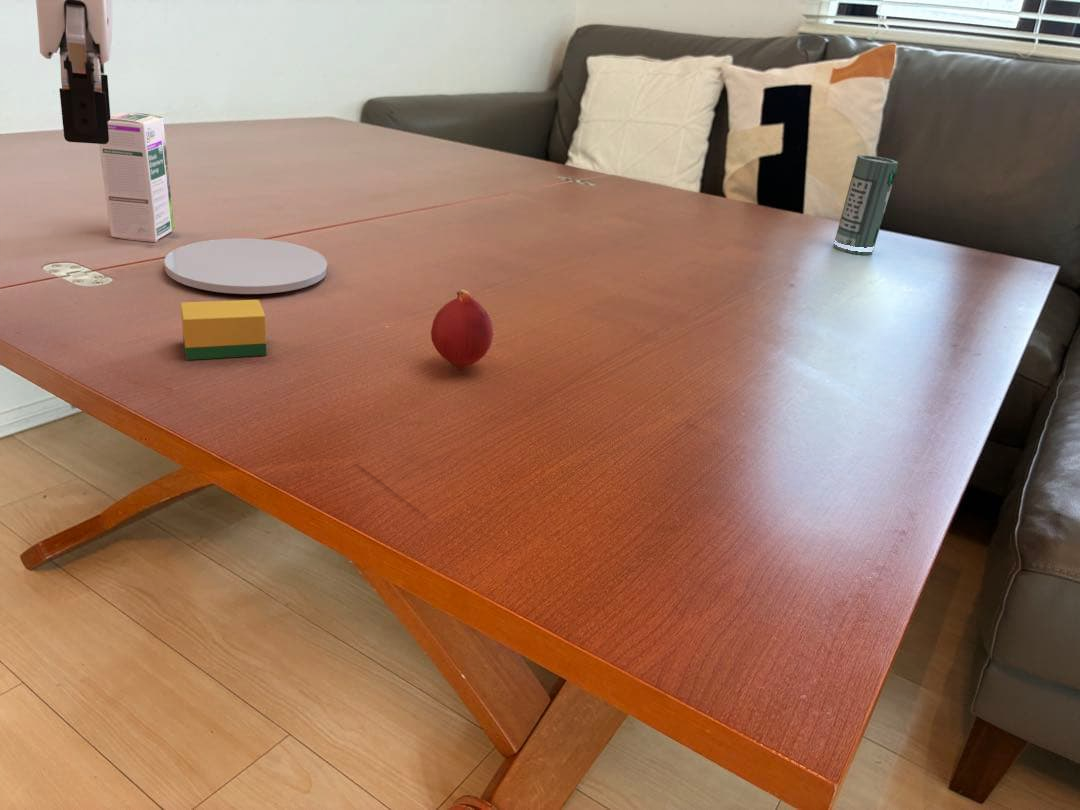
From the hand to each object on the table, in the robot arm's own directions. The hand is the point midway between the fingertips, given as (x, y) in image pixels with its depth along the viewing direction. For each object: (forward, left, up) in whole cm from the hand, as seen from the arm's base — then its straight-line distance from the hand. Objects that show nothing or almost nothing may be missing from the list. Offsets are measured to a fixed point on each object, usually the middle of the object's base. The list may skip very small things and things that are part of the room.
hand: (89, 130), depth 73 cm
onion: (+30, -14, -19) cm, 38 cm away
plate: (+14, +16, -19) cm, 29 cm away
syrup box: (+3, +32, -19) cm, 38 cm away
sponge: (+10, -6, -19) cm, 22 cm away
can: (+112, +21, -19) cm, 116 cm away
